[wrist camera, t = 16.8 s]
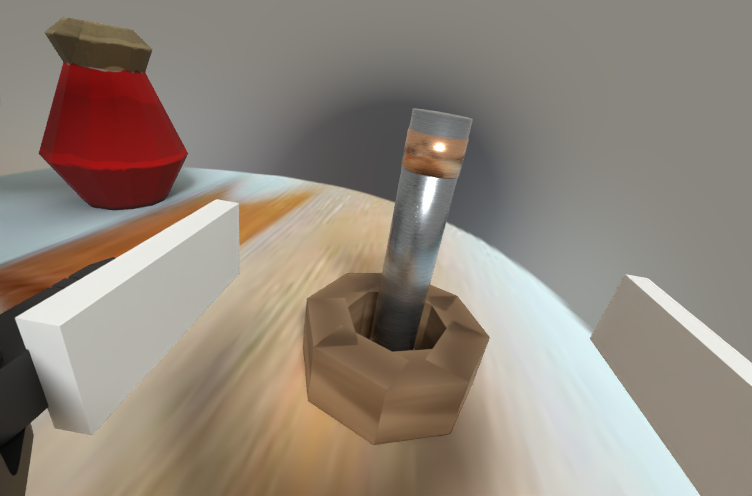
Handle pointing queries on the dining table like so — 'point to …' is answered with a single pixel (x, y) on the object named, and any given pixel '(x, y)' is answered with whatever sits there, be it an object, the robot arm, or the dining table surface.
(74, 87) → the bottle
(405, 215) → the copper-banded metal rod
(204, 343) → the dining table surface
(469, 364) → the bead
